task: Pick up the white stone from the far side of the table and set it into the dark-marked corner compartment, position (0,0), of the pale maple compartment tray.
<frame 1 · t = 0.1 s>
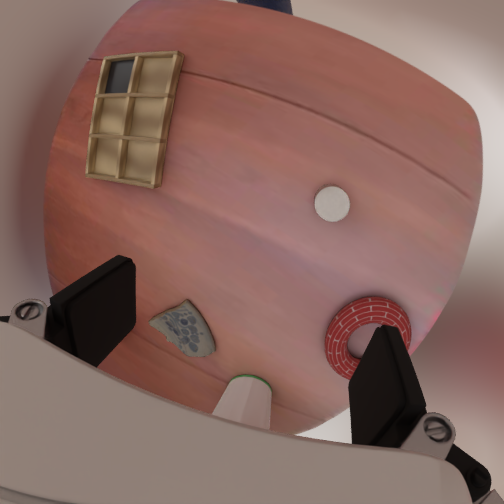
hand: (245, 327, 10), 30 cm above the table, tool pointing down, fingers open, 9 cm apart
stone: (330, 200, 37), on the table
ceramic fragment: (183, 329, 49), on the table
compartment tray: (132, 116, 38), on the table
cup: (250, 389, 51), on the table
torus: (367, 335, 43), on the table
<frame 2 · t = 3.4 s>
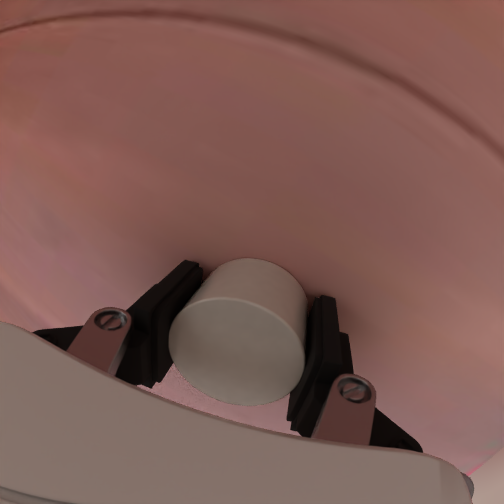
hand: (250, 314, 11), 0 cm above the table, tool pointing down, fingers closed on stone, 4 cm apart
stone: (252, 309, 11), on the table, touching gripper
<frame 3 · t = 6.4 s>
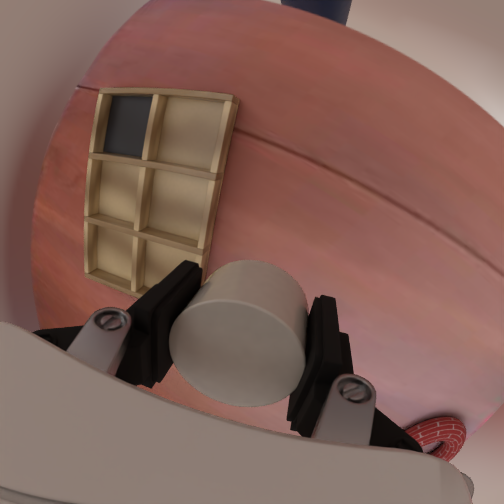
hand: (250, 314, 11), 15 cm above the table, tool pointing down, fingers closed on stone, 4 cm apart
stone: (253, 311, 11), point 15 cm above the table, touching gripper
compartment tray: (150, 195, 27), on the table
torus: (421, 442, 31), on the table
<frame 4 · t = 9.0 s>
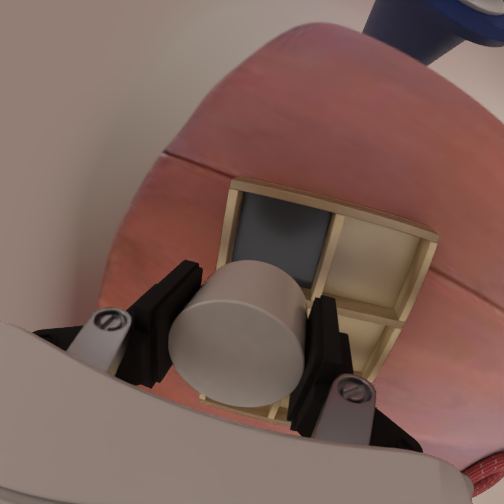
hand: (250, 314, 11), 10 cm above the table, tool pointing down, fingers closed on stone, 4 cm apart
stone: (252, 311, 11), point 9 cm above the table, touching gripper
compartment tray: (302, 326, 22), on the table
torus: (476, 472, 27), on the table
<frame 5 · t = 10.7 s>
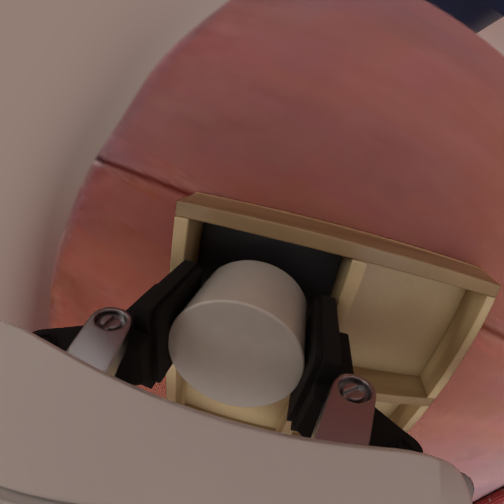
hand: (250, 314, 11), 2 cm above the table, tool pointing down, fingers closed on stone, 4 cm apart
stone: (252, 311, 11), point 2 cm above the table, touching gripper
compartment tray: (294, 397, 15), on the table
torus: (483, 502, 20), on the table
when the fingers open (2 cm above the table, at t = 14.6 s): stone drops 2 cm, resting on compartment tray.
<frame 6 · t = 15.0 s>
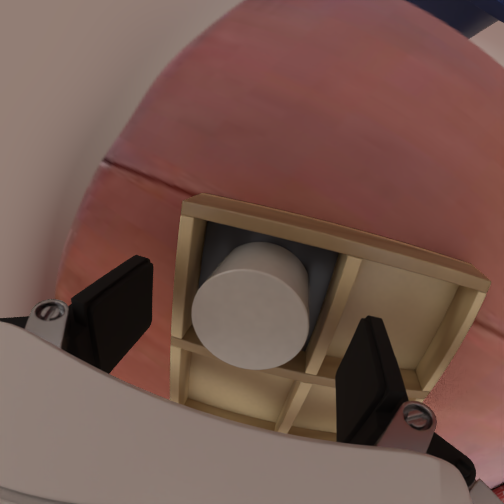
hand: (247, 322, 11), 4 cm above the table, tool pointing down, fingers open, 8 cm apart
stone: (262, 287, 13), point 1 cm above the table, touching compartment tray
compartment tray: (293, 391, 16), on the table
torus: (482, 501, 20), on the table
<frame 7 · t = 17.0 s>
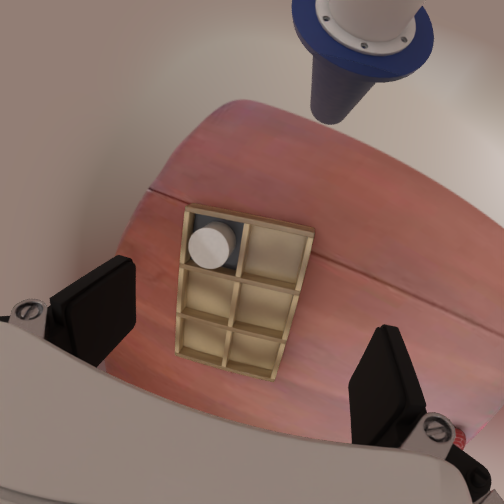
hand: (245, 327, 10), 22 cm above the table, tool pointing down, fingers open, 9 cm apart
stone: (217, 240, 33), point 1 cm above the table, touching compartment tray
compartment tray: (237, 297, 35), on the table
torus: (431, 447, 39), on the table
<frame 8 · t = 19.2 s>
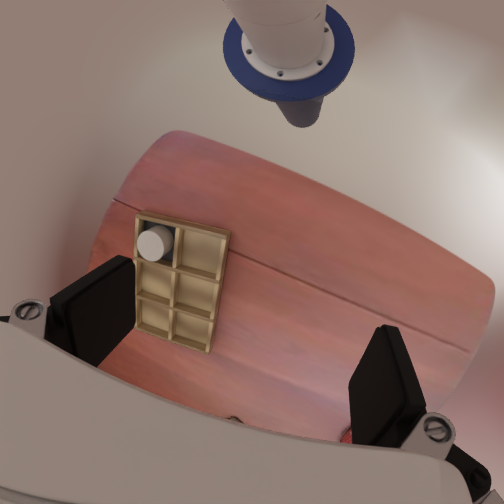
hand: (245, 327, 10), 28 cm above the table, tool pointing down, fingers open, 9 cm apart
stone: (160, 239, 41), point 1 cm above the table, touching compartment tray
compartment tray: (178, 283, 44), on the table
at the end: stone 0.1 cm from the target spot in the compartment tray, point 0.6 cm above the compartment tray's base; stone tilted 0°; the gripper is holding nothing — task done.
